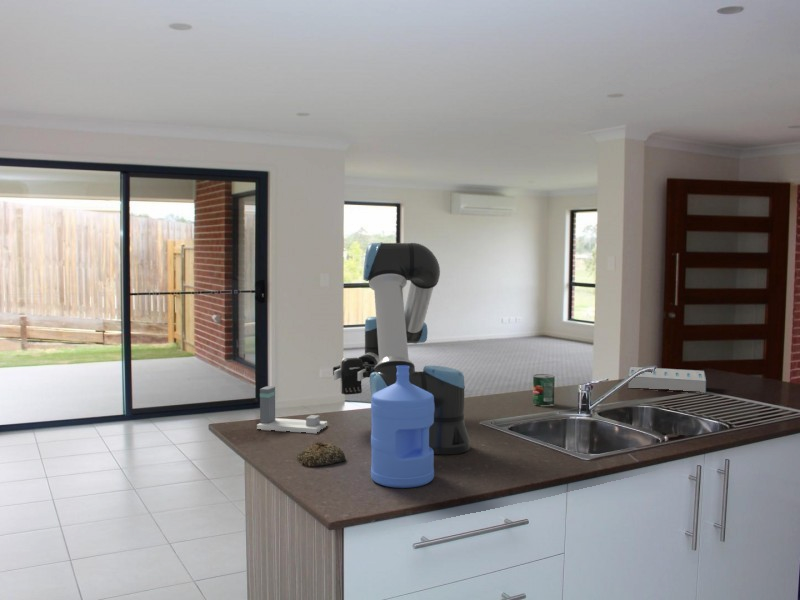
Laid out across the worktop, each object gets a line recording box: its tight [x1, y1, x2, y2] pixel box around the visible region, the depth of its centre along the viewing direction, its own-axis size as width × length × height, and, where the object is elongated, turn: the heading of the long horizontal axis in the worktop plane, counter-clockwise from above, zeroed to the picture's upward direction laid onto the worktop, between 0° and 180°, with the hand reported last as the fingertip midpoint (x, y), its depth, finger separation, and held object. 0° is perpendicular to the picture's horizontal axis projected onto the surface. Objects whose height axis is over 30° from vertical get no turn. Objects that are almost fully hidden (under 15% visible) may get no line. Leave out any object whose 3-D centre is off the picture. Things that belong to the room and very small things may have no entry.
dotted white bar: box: [627, 366, 707, 393], centre depth 292 cm, size 30×14×8 cm, turn 70°
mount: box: [256, 385, 328, 434], centre depth 221 cm, size 10×20×12 cm, turn 76°
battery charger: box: [339, 357, 363, 396], centre depth 219 cm, size 7×4×11 cm, turn 117°
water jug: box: [370, 365, 435, 489], centre depth 170 cm, size 16×16×28 cm
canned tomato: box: [532, 373, 556, 405], centre depth 257 cm, size 8×8×11 cm
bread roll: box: [296, 441, 346, 468], centre depth 187 cm, size 13×12×5 cm
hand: (346, 376), depth 214 cm, fingers closed on battery charger, 7 cm apart
